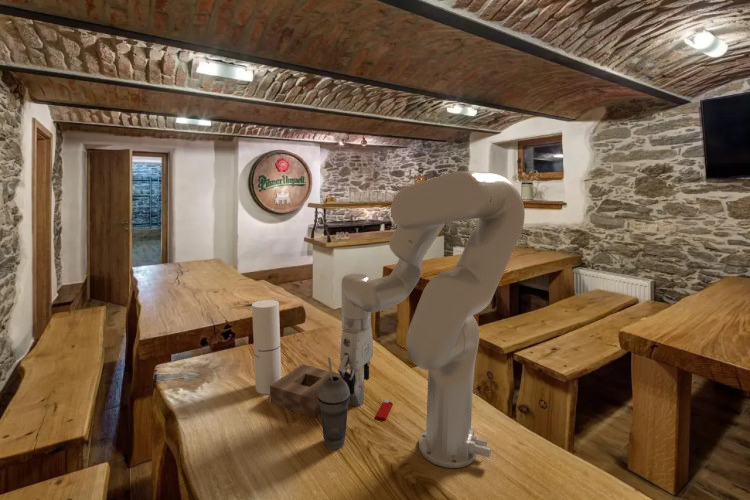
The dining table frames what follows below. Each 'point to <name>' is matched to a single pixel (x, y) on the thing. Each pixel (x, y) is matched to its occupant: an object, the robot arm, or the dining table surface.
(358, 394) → the steel peg
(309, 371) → the walnut socket block
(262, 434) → the dining table surface
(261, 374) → the cylindrical container
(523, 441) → the dining table surface
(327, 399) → the beverage cup
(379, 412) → the lighter
